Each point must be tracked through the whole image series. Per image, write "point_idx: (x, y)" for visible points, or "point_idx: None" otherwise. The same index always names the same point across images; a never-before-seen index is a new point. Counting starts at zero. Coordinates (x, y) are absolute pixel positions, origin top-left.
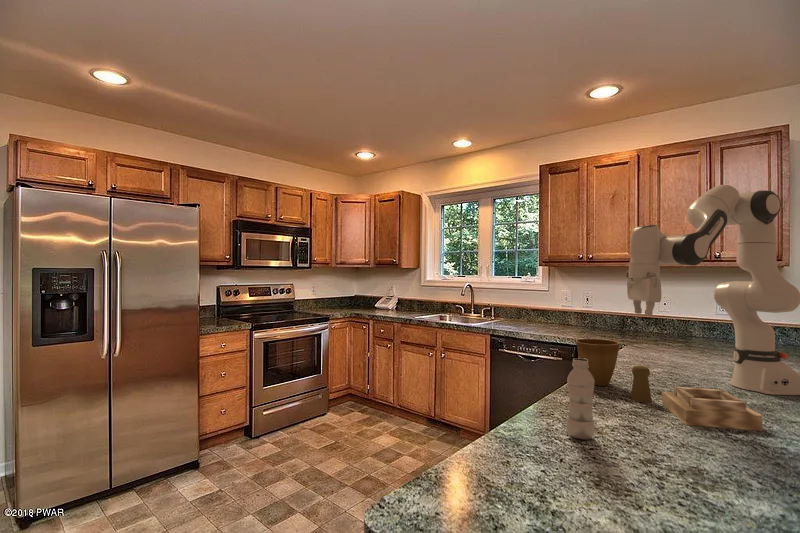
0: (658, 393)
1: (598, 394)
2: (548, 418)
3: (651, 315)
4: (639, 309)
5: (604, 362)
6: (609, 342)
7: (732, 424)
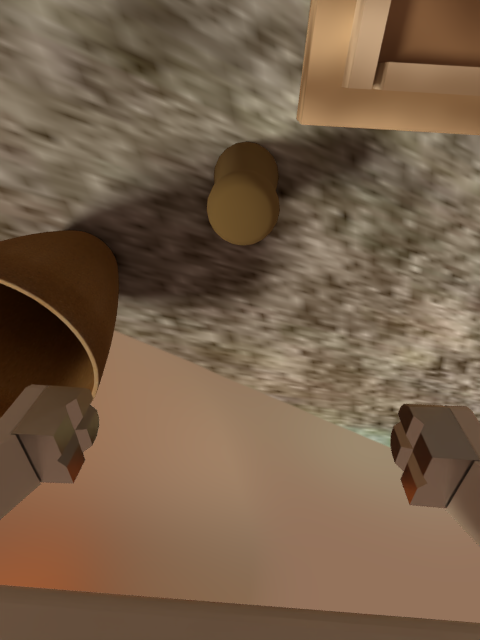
0: (142, 66)
1: (220, 292)
2: None
3: (462, 412)
4: (67, 445)
5: (110, 303)
6: None
7: None
